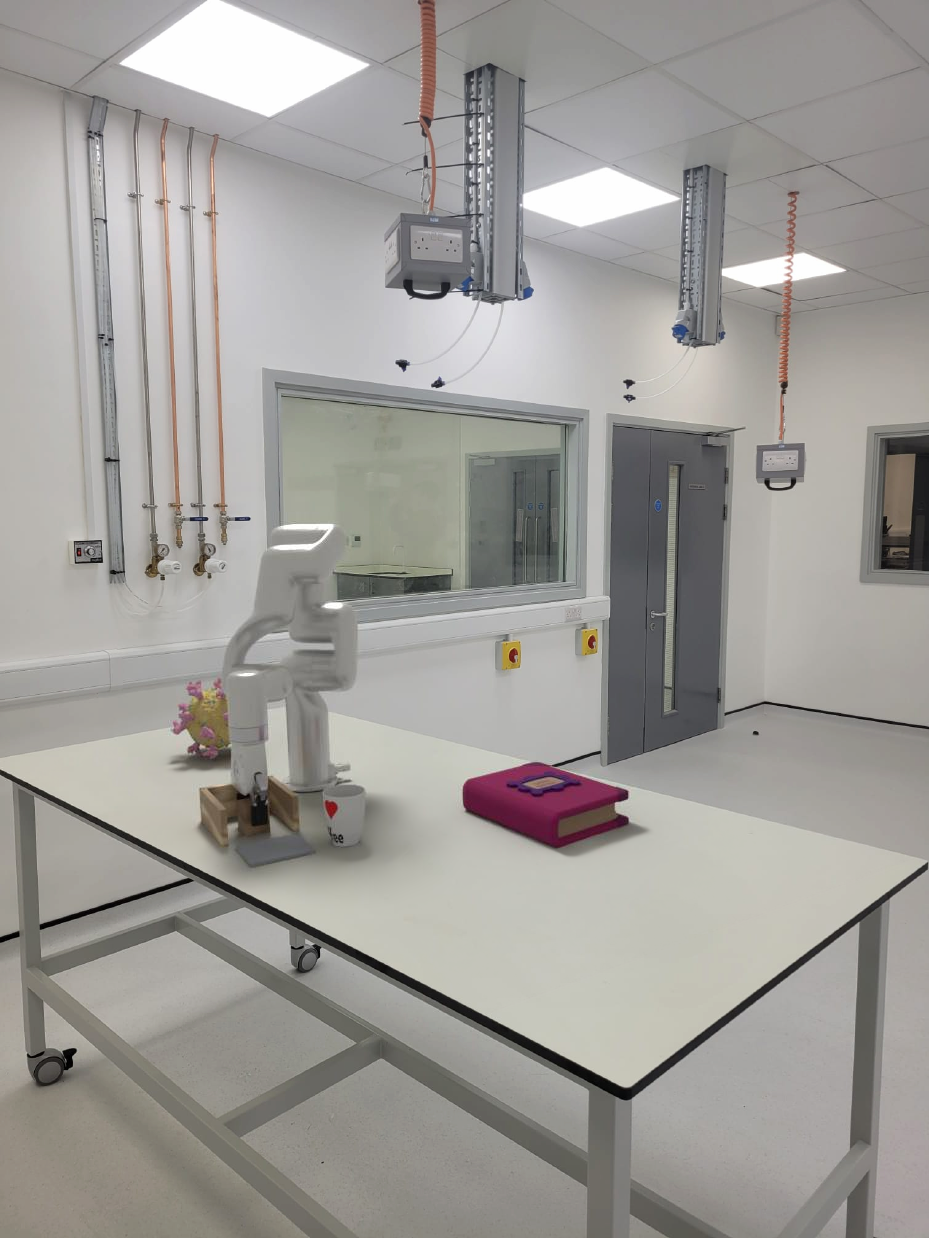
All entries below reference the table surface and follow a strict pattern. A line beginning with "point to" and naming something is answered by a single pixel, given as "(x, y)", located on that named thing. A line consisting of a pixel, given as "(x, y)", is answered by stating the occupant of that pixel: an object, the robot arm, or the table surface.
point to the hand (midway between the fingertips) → (252, 818)
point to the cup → (344, 813)
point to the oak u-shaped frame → (223, 805)
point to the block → (249, 819)
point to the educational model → (205, 719)
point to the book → (546, 803)
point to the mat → (274, 849)
